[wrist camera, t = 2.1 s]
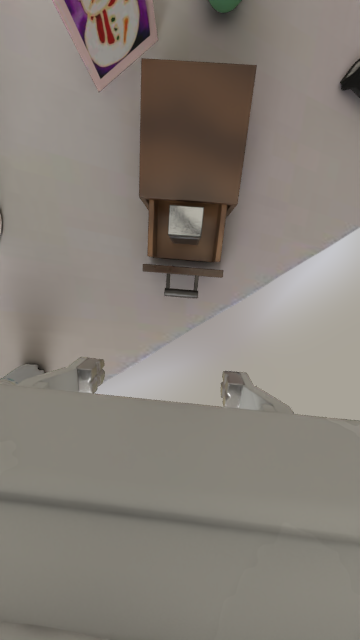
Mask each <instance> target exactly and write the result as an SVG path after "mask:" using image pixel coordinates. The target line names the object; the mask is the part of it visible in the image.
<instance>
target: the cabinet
mask: <svg viewBox="0 0 360 640" xmlns="http://www.w3.org/2000/svg"><path fill="white" fill-rule="evenodd" d="M256 67H257V65H244V64H227V63H210V62H193V61H176V60H159V59H142V62H141V120H140V178H139V197H140V199H141V200H142V202H143V203H144V204H145V206H146V207H147V209H148V210H149V199H151V200H164V201H178V202H192V203H206V204H219V205H227V211H226V216H228V215H229V214H230V213H231V212H232V210H233V209H234V208H235V207H236V205H237V204H238V196H239V189H240V182H241V175H242V168H243V160H244V153H245V146H246V139H247V132H248V124H249V117H250V110H251V103H252V95H253V88H254V81H255V74H256Z"/></svg>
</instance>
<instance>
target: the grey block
mask: <svg viewBox="0 0 360 640" xmlns="http://www.w3.org/2000/svg"><path fill="white" fill-rule="evenodd" d="M203 214H204V207H194V206H181V205H169V220H168V236H169V237H170V239H171V240H172V242H173V243H176V244H189V245H198V243H199V241H200V238H201V235H202V224H203Z"/></svg>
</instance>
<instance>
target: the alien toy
mask: <svg viewBox="0 0 360 640" xmlns="http://www.w3.org/2000/svg"><path fill="white" fill-rule="evenodd" d="M209 2H210V4H211V6H212V7H213V8H214V9H215V10H216V11H218V12H221V13H226V12H230V11H231V10H233V9H234V8H235V7H236V6H237V5H238V4H239V3H240V2H241V0H209Z"/></svg>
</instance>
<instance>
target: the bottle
mask: <svg viewBox="0 0 360 640" xmlns="http://www.w3.org/2000/svg"><path fill="white" fill-rule="evenodd" d="M37 368H38V365H36V364H35V365H31V364H24V365H22V366H20V367H18V368H16V369H14V370H13V371H11V372H10V373H9V374H7V375H6V376H4V377H3V378H1V379H0V384H5V385H16V384H18V383H20V382H21V381H23V380H24V379H27V378H30V377H34V376H37V375H41V374H44V371H43V370H39V369H37Z"/></svg>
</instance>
